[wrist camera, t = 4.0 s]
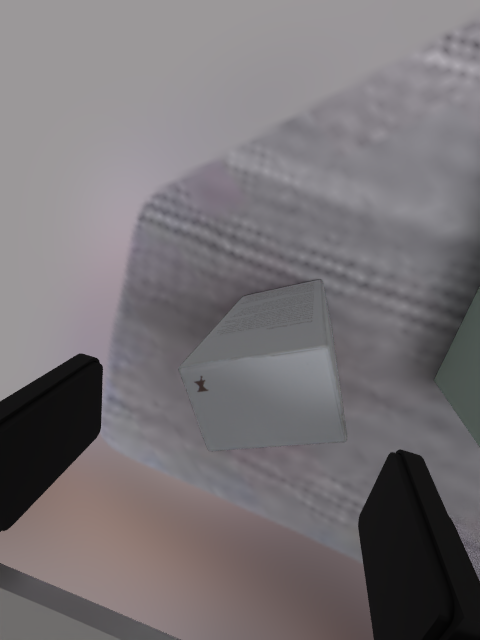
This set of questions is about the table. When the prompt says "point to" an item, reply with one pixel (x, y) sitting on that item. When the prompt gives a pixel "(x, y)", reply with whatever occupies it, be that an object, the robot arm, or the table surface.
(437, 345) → the table surface
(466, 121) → the table surface
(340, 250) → the table surface
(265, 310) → the skincare box
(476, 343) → the green yellow rimmed box
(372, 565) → the robot arm
